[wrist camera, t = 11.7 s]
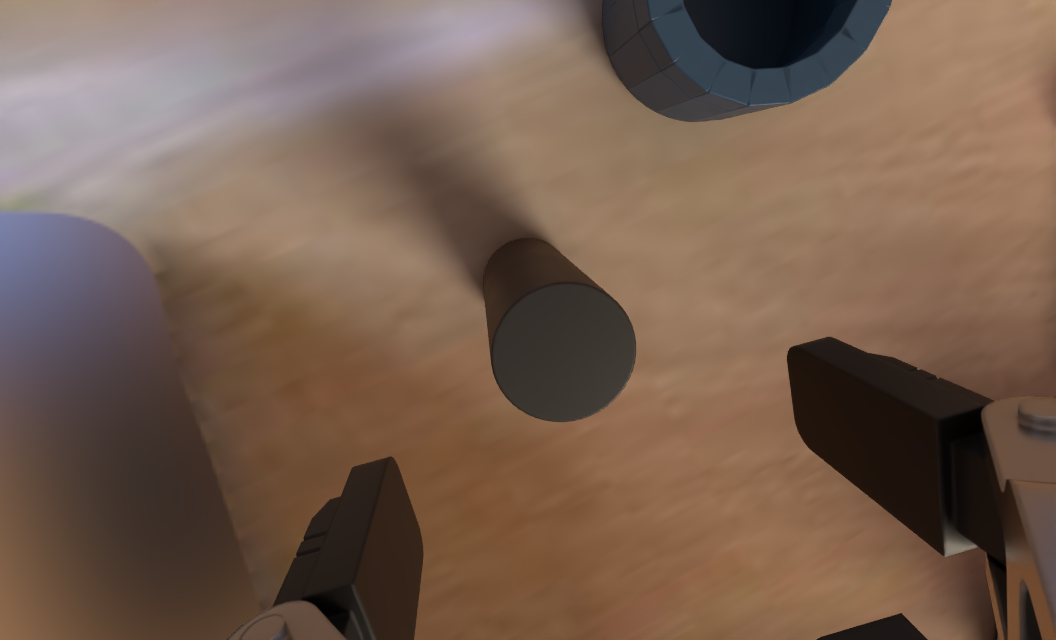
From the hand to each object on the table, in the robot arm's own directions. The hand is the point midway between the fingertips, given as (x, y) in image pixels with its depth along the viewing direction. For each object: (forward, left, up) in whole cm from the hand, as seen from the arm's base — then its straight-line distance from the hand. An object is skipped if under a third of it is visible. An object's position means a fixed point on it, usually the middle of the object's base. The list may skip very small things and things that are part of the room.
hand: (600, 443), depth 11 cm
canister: (0, 0, -18) cm, 18 cm away
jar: (+11, +10, -18) cm, 23 cm away
